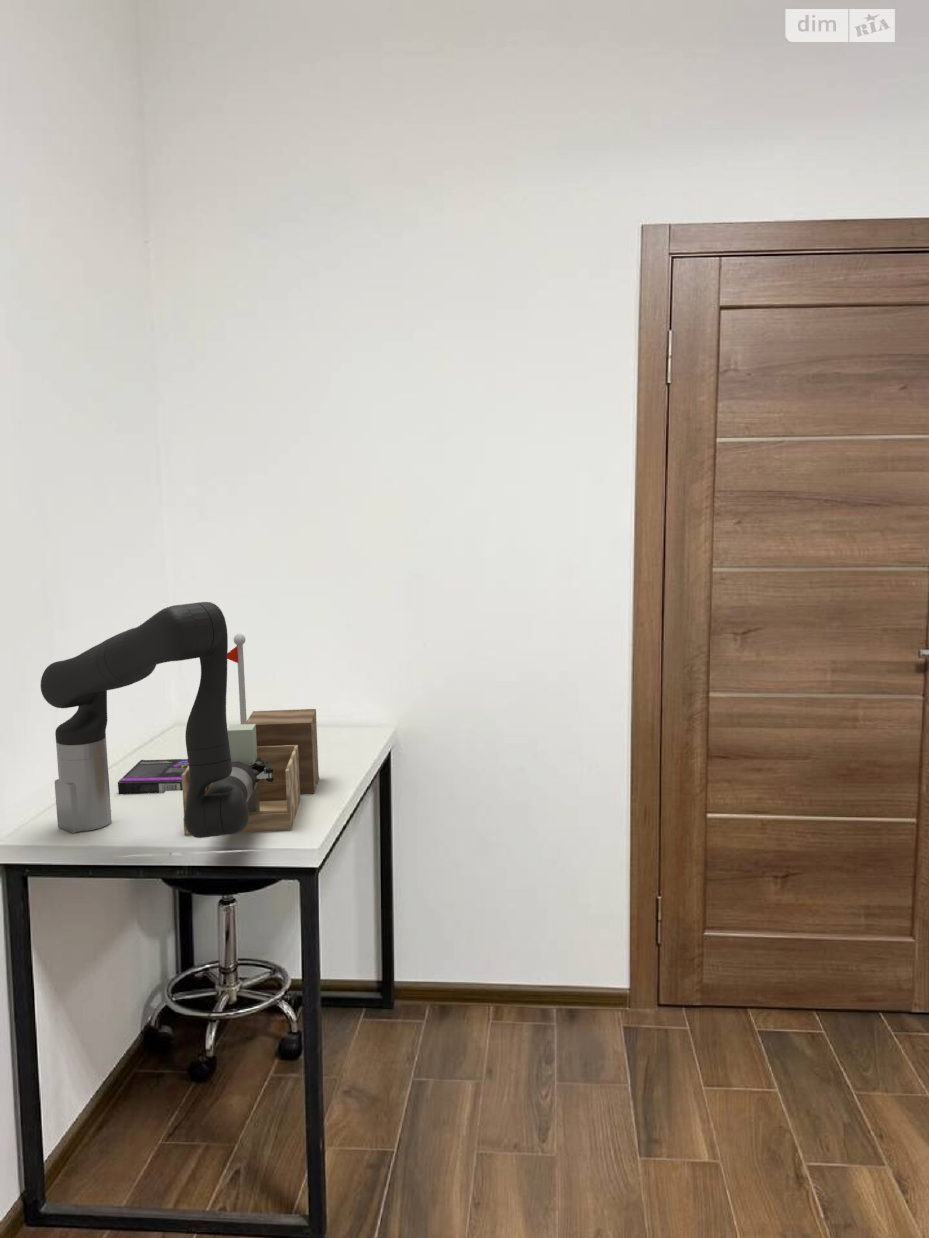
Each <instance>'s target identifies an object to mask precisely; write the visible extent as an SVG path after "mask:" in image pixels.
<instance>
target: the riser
mask: <svg viewBox="0 0 929 1238" xmlns="http://www.w3.org/2000/svg"><path fill="white" fill-rule="evenodd" d="M245 724H256V741H257V747H259V746H284V745H298V755H299V778H300V796H303V795H314V794H315V792H316V788H317V785H318V782H319V779H320V778H319V777H320V776H319V774H320V773H319V753H318V730H317V729H318V728H317V727H318V726H317V725H318V724H317V709H316V708H306V709H305V708H304V709H279V710H253V711H252V712H251V714H250V715H249V717H248V719H247V722H246V723H245Z"/></svg>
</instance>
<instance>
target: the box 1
mask: <svg viewBox="0 0 929 1238" xmlns="http://www.w3.org/2000/svg"><path fill="white" fill-rule="evenodd" d="M188 766H189V763H188V758H186V759H185V758H174V759H173V758H171V759H169V758H168V759H141V760H139V761H138V762H137V763H136V764H135V765H134V766H133V767H132V768H131V769H130V770H128V772H127V773H126V774H125V775H124V776H123V777H122V778H121V779H119V780H118V781H117V789H118V795H119V794H123V795H145V794H147V795H148V793H149V794H165V793H166V792H169V791H170V792H171V791H183V790H182V774H183V773H184V771H185V770H186V769H187V767H188Z"/></svg>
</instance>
